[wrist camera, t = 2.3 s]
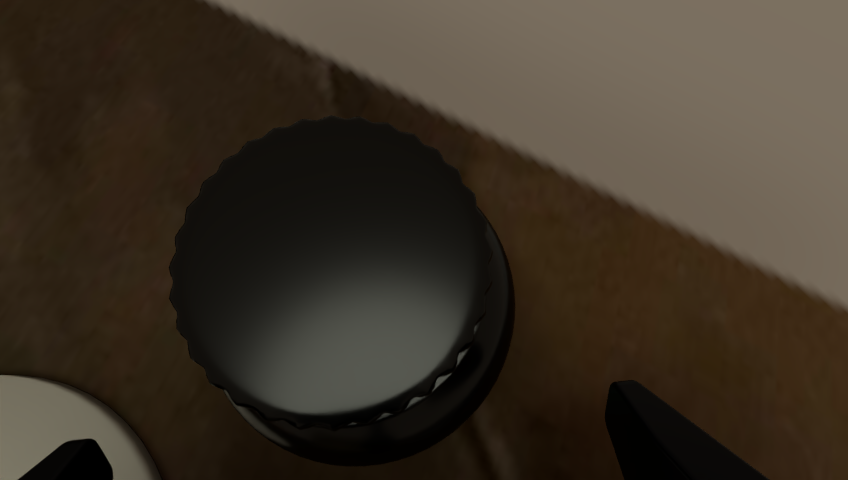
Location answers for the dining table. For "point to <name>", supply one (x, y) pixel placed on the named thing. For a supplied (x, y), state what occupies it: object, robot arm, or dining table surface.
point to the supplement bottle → (344, 291)
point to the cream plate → (63, 428)
